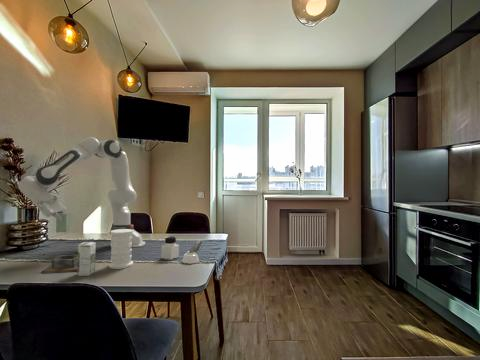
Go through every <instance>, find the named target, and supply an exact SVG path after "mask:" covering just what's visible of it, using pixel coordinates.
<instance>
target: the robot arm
mask: <svg viewBox="0 0 480 360" xmlns="http://www.w3.org/2000/svg"><path fill="white" fill-rule="evenodd" d="M94 155H95V156H96V157H97V158H101V159H102V158H105V159H106V158H108V159H109V160H110V171H111V180H112V181H113V183H114V185H115V187H113V188H112V189H110V190H109V191H108V193H107V197H108V200H109V202H110V205H111V208H112V209H111V210H112V226H111V231H112V230H117V229H131V230H133V233H132V234H131V236H132V240H131V243H132V246H131V248H135V247H143V246H145V245H146V241H144V240H143V238H142V235H141V233H140V232H138V231H136V230H135V229H134V224H132V223H131V211H130V209H129V206H128V205H131V204H133V203H135V202H136V200H137V198H138V195H137V192H136V190H135V189H134V187H133V184H132V181H131V176H130V167H129V166H130V164H129V159H128V156H127V155H128V154H127V153H126V152H125V151H124V150H123V149H122V145H121V144H120V143H119V141H117V140H114V139H105V140H102V141H99V139H97V138H96V137H94V136H88V137H86V138H83V139H82V140H81V141H79V142H77V143H76V144H75V145H73V147H71V148H70V149H69V150H68V151H67V152H66V153H64V154H63V155H61V156H60V157H59V158H57V159H56V160H55V161H53V162H51V163H50V164H45V165H43V166H41V167H39V168H38V169H37V171H36V172H35V175H26V176H24V177H22V178H21V179H20V180H19V182H18V185H17V188H18V189H19V190H20V192H21V193H22V194H23V196H25V197H26V198H27V199H29V200H31V202H32V204H33V205H35V206H36V207H37V208H38V210H39V211H40V212H41V214H43V215H44V216H45V217H46V218H49V217H50V218H51V217H54V218H55V219H56V218H57V219H58V220H60V221H61V220H63V219H64V218H63V217H62V216H60V215H58V214H59V213H66V211H67V210H68V209H67V206H66V205H65V204H63V202H61V201H60V200H59V197H58V196H56V195H53V194H51V193H50V191H53V190H55V189H56V188H57V187H58V186H59V181H60V180H59V177H60V175H61V173H62V172H64V170H67V168H69V167H70V166H71V165H73V164H76V165H82V164H84V163H87V162H88V161H89V160H90V159H91V158H92V157H93V156H94ZM111 244H112V241H111V240H110V244H109V246H110V247H111Z"/></svg>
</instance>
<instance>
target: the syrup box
mask: <svg viewBox="0 0 480 360" xmlns="http://www.w3.org/2000/svg"><path fill="white" fill-rule="evenodd" d="M96 244H97V243H96V242H94V241H84V242H82V243H79V244H78V245H77V255H78V263H77V271H76V276H77V277H86V276H88V277H89V276H91V275H93V274H94V273H95V272H96V271H95V270H96V246H97V245H96Z"/></svg>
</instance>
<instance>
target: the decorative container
mask: <svg viewBox="0 0 480 360" xmlns="http://www.w3.org/2000/svg"><path fill="white" fill-rule="evenodd" d="M109 233H110V235H111V237H110V242H111V241H112V244H111V243H110V244H111V246H110V254H111V256H110V260H111V262H109V264H108V267H109V268H110V269H113V270H114V269H115V270H121V269H127V268H131V267H133V266H134V261H133V260H132V258H133V255H132V253H133V249H132V247H131V246H132V243H131V240H132V236H131V234H132V233H133V230H131V229H117V230H112V229H111V230H110V231H109Z"/></svg>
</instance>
